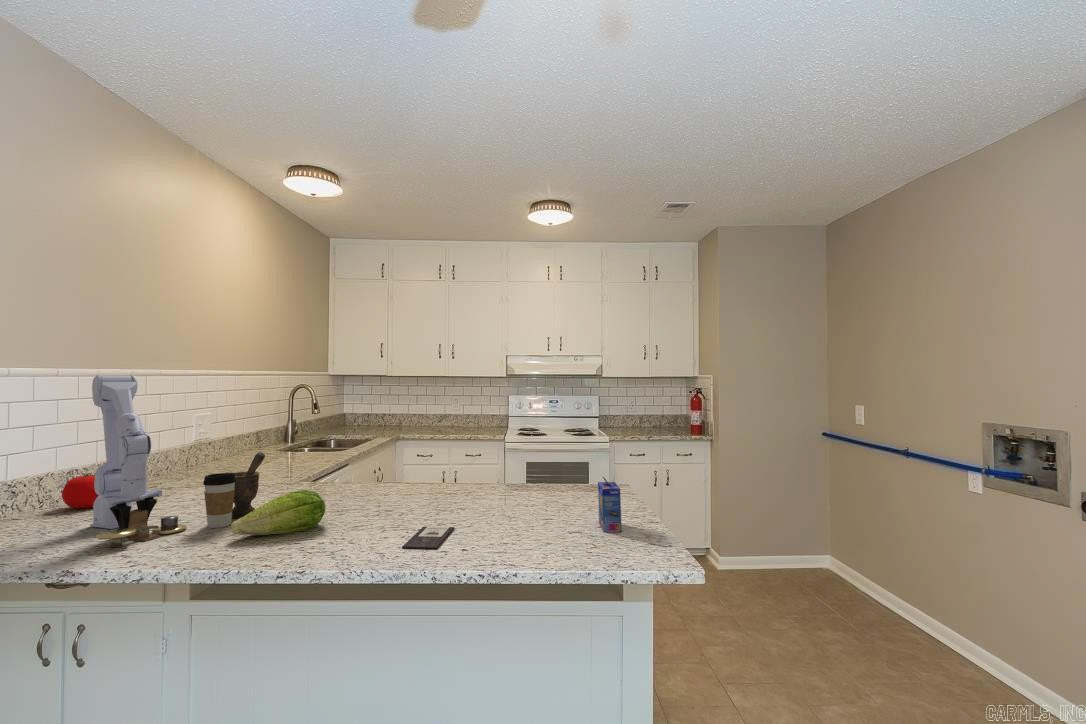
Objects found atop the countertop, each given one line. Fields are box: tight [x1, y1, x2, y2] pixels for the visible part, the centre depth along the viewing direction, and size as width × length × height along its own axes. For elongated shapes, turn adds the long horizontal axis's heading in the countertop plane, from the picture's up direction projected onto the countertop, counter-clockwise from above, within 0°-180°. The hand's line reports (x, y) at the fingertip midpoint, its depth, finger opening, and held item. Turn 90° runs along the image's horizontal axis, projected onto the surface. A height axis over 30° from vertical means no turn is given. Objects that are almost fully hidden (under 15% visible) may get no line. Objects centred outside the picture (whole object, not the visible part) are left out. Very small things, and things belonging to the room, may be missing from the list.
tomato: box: [61, 473, 100, 510], centre depth 179 cm, size 12×13×11 cm
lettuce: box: [230, 489, 326, 536], centre depth 150 cm, size 12×24×13 cm
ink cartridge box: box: [597, 476, 623, 533], centre depth 154 cm, size 10×6×14 cm, turn 2°
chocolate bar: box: [401, 526, 455, 551], centre depth 144 cm, size 9×1×18 cm
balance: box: [95, 515, 187, 549], centre depth 144 cm, size 8×22×4 cm, turn 162°
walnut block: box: [128, 508, 149, 537], centre depth 148 cm, size 4×4×6 cm
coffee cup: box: [202, 472, 236, 529], centre depth 157 cm, size 8×8×15 cm
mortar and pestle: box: [232, 451, 266, 519], centre depth 168 cm, size 12×9×20 cm
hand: (133, 528), depth 148 cm, fingers closed on walnut block, 4 cm apart
